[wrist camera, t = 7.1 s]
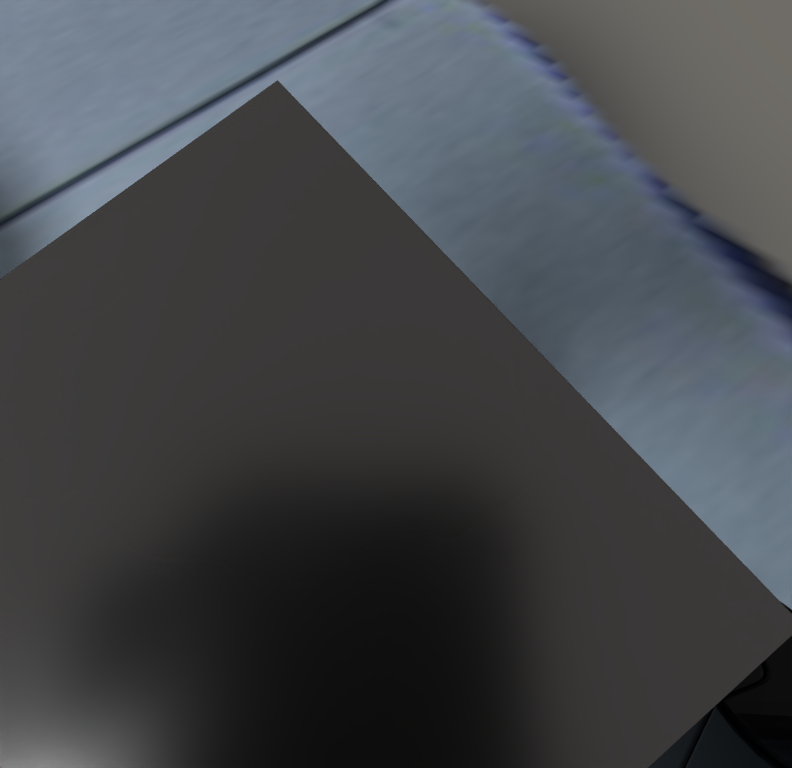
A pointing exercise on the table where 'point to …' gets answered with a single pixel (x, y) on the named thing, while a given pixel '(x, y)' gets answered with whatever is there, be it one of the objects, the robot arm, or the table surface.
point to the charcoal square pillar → (326, 498)
